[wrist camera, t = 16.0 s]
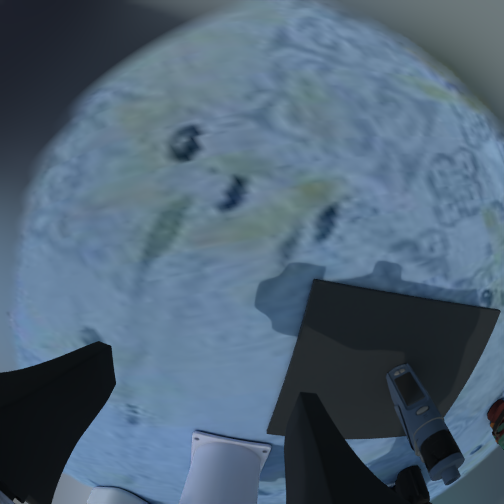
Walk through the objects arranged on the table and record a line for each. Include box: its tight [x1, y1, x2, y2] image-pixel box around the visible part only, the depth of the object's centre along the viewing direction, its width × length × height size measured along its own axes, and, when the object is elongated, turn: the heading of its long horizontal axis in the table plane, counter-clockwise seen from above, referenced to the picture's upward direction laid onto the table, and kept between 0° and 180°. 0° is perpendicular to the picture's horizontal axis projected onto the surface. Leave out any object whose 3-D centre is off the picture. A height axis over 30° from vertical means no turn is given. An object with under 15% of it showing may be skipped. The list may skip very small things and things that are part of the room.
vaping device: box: [386, 363, 465, 485], centre depth 14 cm, size 3×5×12 cm, turn 26°
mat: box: [267, 279, 501, 439], centre depth 20 cm, size 16×20×1 cm
